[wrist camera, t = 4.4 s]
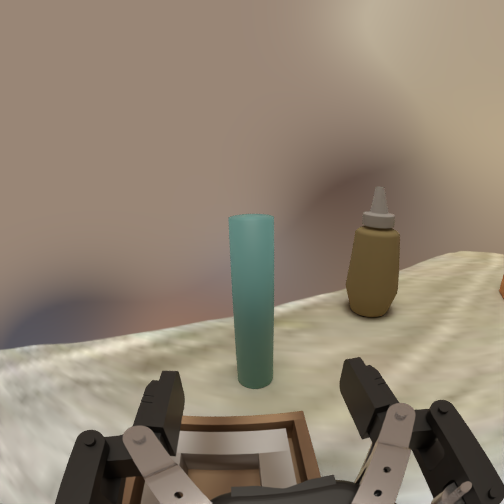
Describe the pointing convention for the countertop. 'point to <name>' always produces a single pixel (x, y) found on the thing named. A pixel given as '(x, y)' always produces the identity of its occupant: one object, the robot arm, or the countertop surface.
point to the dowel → (253, 296)
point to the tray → (238, 454)
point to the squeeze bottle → (374, 261)
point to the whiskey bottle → (502, 287)
